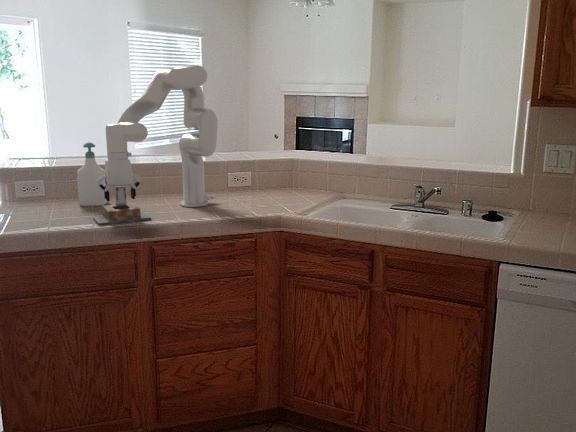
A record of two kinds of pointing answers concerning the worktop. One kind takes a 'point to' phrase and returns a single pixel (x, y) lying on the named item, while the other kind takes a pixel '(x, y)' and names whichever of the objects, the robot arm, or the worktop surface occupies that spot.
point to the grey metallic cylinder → (120, 197)
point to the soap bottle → (90, 180)
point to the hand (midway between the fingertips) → (120, 199)
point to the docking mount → (120, 215)
